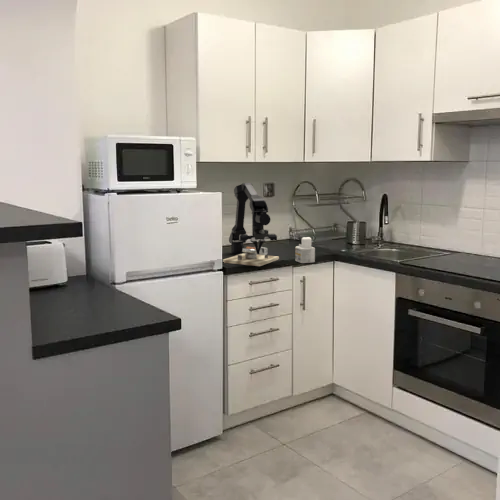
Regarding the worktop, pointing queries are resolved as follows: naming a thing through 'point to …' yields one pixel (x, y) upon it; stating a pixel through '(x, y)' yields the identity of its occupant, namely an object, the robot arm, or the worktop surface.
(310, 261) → the container
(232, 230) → the robot arm
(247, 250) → the grey piece
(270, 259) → the base plate
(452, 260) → the worktop surface
